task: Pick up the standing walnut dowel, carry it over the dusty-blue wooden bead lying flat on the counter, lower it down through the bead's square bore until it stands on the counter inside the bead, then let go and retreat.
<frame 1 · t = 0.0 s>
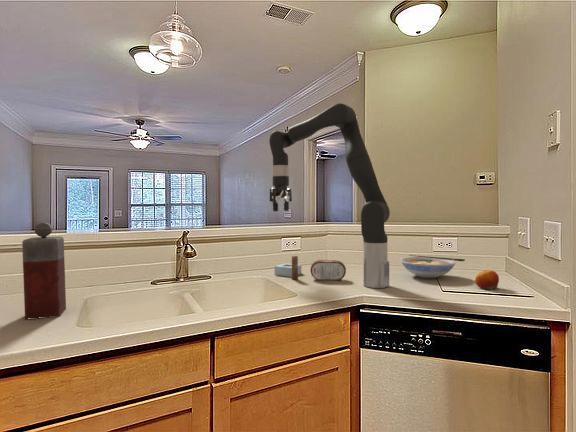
hand: (281, 211, 169), 29 cm above the worktop, tool pointing down, fingers open, 8 cm apart
ramen bowl: (427, 277, 161), on the worktop
bead: (288, 274, 171), on the worktop
decanter: (47, 313, 114), on the worktop
fruit: (486, 288, 139), on the worktop
dowel: (294, 279, 159), on the worktop
tin: (328, 280, 157), on the worktop
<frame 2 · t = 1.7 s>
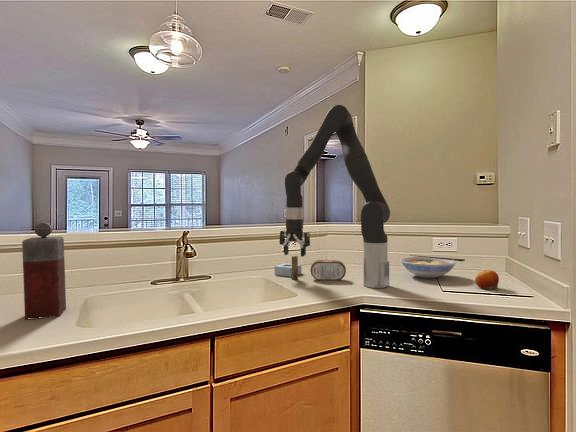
hand: (294, 255, 159), 10 cm above the worktop, tool pointing down, fingers open, 8 cm apart
nothing on the worktop moved.
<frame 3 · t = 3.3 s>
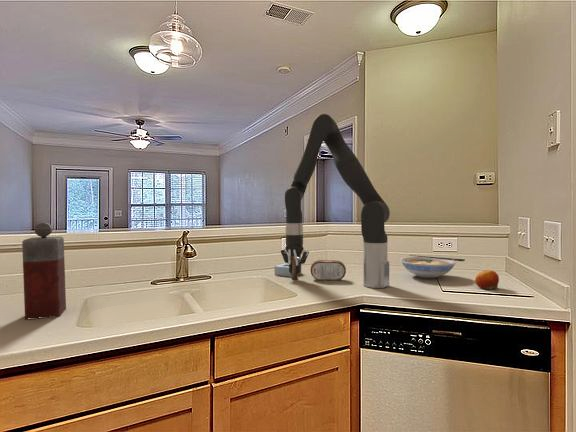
hand: (294, 273, 159), 3 cm above the worktop, tool pointing down, fingers closed on dowel, 2 cm apart
dowel: (294, 279, 159), on the worktop, touching gripper
everything else where it was.
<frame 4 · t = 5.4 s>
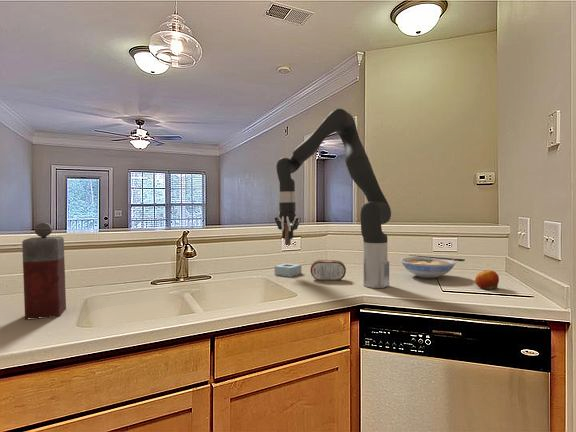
hand: (287, 238, 170), 16 cm above the worktop, tool pointing down, fingers closed on dowel, 2 cm apart
dowel: (287, 244, 171), point 14 cm above the worktop, touching gripper
everything else where it was.
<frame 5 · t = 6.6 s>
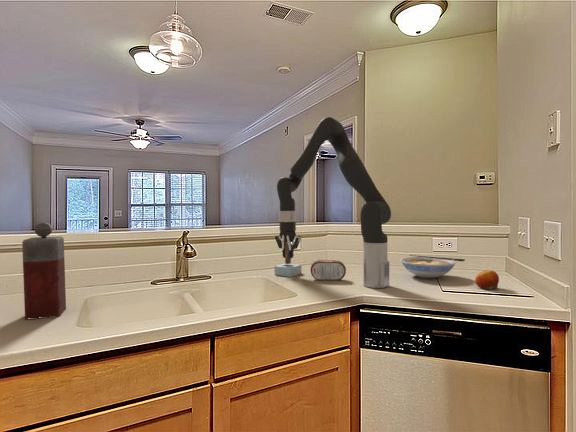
hand: (287, 257, 171), 8 cm above the worktop, tool pointing down, fingers closed on dowel, 2 cm apart
dowel: (288, 263, 171), point 5 cm above the worktop, touching gripper
everything else where it was.
when the fingers open (5 cm above the worktop, at t = 7.5 s): dowel drops 2 cm, resting in bead.
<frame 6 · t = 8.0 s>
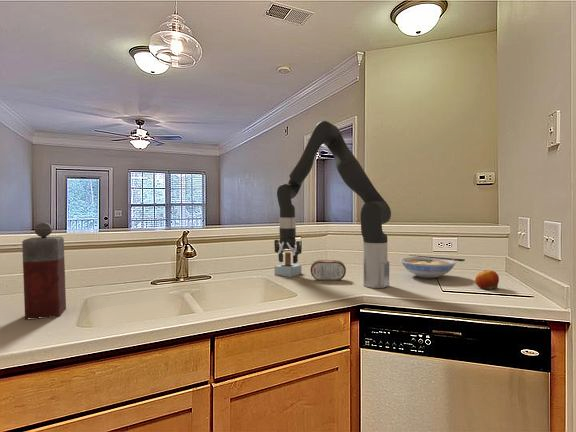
hand: (288, 262, 171), 5 cm above the worktop, tool pointing down, fingers open, 7 cm apart
dowel: (288, 274, 171), resting in bead
everything else where it was.
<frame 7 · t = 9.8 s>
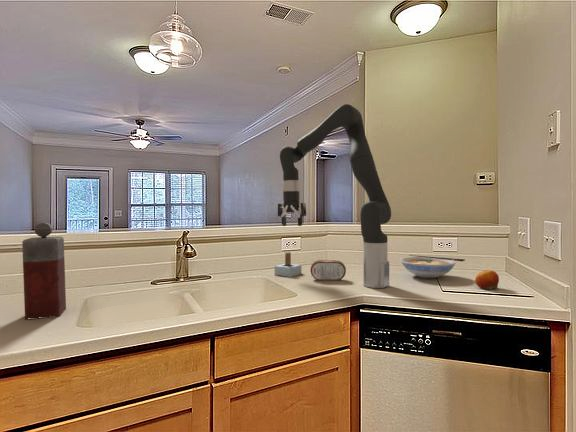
hand: (292, 225, 170), 22 cm above the worktop, tool pointing down, fingers open, 8 cm apart
nothing on the worktop moved.
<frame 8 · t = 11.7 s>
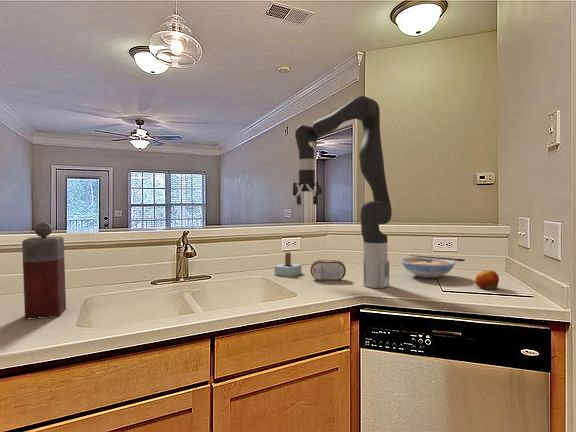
hand: (307, 204, 171), 32 cm above the worktop, tool pointing down, fingers open, 8 cm apart
nothing on the worktop moved.
at the end: dowel 0.0 cm from the bead (horizontally); dowel resting in bead; the gripper is holding nothing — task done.
